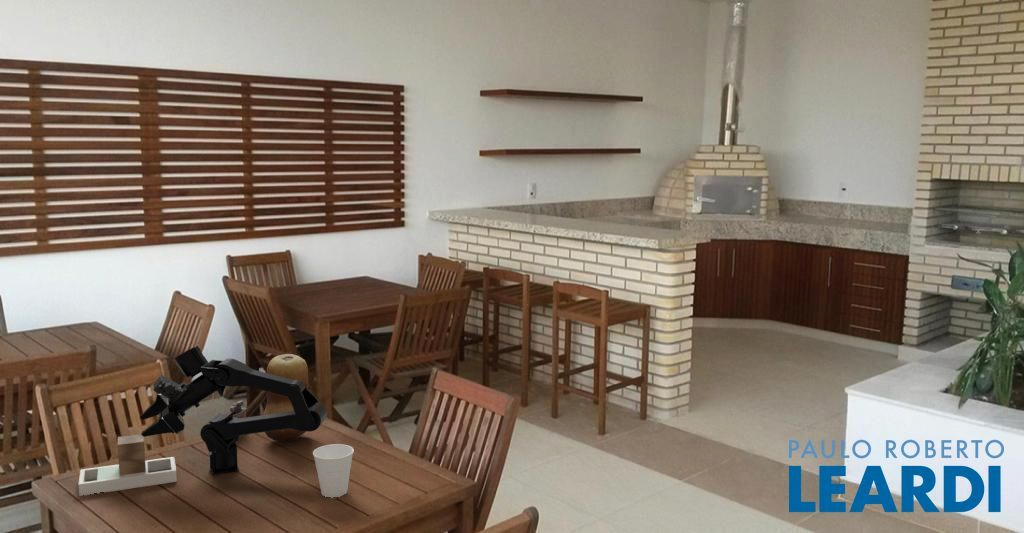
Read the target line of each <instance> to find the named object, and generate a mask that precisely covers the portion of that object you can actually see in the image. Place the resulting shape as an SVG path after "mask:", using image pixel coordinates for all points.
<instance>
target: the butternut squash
mask: <svg viewBox="0 0 1024 533" xmlns="http://www.w3.org/2000/svg"><path fill="white" fill-rule="evenodd" d="M266 373H269V374H272V375H276V376H280V377H284V378H288V379H292V380H299V381H302V382H303V383H304V384H305V386H306V388H307V389H308V390H309V368H308V364H307V362H306V360H305V359H304V358H303V357H300V356H299V355H296V354H294V353H293V354H291V353H286V354H279V355H277V356H274V357H273V358H272V359H271V360H270V361H269V363H268V365H267V368H266ZM266 398H267V400H266V406H265V409H264V412H263V414H262V415H268V414H276V413H283V412H290V411H293V410H294V409H293V406H292V403H291V401H290V399H289V398H288V397H287V396H283V395H279V394H275V393H271V392H267V391H266ZM306 432H307V431H297V430H293V429H282V430H275V431H268V432H264V433H265V435H266V436H267V437H268V438H269V439H271V440H272V441H278V442H293V441H295V440H297V439H298V438H299V437H301V436H302V435H304V434H305V433H306Z"/></svg>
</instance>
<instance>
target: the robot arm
mask: <svg viewBox="0 0 1024 533" xmlns="http://www.w3.org/2000/svg"><path fill="white" fill-rule="evenodd" d="M173 361H174V362H175V364H176V365H177V367H178V368H179V370H180V371H181V372H182V373H183V375H184V377H187V378H189V377H191V379H192V380H191V381H190V382H188V383H187V382H186V381H183V382H181V383H180V384H178V383H177V382H175V381H174V380H173V379H170V378H168V377H167V376H165V375H163V374H160V375H159V376H158V377H157V379H156V380H155V381H154V382H153V384H152V386H153V388H152V390H153V392H154V393H156V394H155V398H154V400H153V401H152V403H151V404H150V405H149V406H148V407H147V408H146V410H144V411H143V413H142V414H140V415H139V418H140V420H142V421H143V420H148V419H150V418H153V417H156V416H158V417H157V419H156V420H155V421H154V422H153V423H152V424H150V425H149V426H148V427H147V428H145V429H144V430H143V431H142V432H141V433H140V434H141V435H142V436H143V437H144V438H145V437H151V436H157V435H164V434H176V435H178V434H180V433H181V432H183V431H184V430H185V425H186V424H185V420H184V418H183V417H185V416H186V412H187V411H188V410H190V409H192V408H193V407H195V408H198V407H200V403H201V402H203V401H204V400H205V399H207V398H208V397H210V396H212V395H213V394H215V393H216V392H217V393H218V394H219V396H220V397H223V396H224V395H225V393H226V388H227V387H232V388H233V387H249V388H251V389H256V390H260V391H264V392H266V393H267V392H271V393H275V394H279V395H283V396H287V397H288V398H289V399H290V401H291V403H292V406H293V409H294V410H293V411H290V412H283V413H276V414H268V415H263V414H261V415H254V416H248V417H247V416H246V418H235V417H233V412H230V411H229V412H228V413H220V412H219V413H218V414H216V415H215V416H214V417H212V418H211V419H210V420H209V421H208V422H207V423H205V424H204V425H203V426H202V427H201V429H200V432H199V433H200V438H201V439H202V440H201V441H203V442H204V443H205V445H206V448H207V450H208V466H209V470H210V471H212V472H211V473H212V475H217V474H223V473H232V472H237V471H239V470H240V468H239V464H238V445H237V442H238V441H239V440H240V439H239V437H240V435H244V436H247V435H252V434H259V433H260V434H261V433H265V432H268V431H275V430H282V429H293V430H297V431H306V432H315V431H316V430H318V428H320V426H321V425H322V424H323V422H324V421H325V420H326V419H327V415H328V412H327V409H326V406H324V404H322V403H321V402H320V401H319V400H318V399H317V396H315V394H313V392H311V391H310V389H309V388H308V389H307V388H306V386H305V384H304V383H303V382H302V381H299V380H292V379H288V378H284V377H280V376H276V375H272V374H269V373H267V372H264V371H260V370H258V369H257V370H256V369H255V368H254V369H253V368H251V367H249V365H247V364H246V363H245V362H244V363H243V362H242V361H239V360H237V359H236V358H235V359H234V358H231V357H230V358H226V359H224V360H219V359H211V360H209V361H208V359H207V358H206V357H205V356H204V354H203V352H202V351H201V348H200V346H198V345H195V346H193V347H192V348H189V349H187V350H185V351H184V352H182V353H181V354H179V355H177V356H176V357H174V358H173ZM198 374H200V375H199V376H197V375H198ZM195 376H197V377H196V378H194V377H195ZM193 378H194V379H193Z"/></svg>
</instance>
